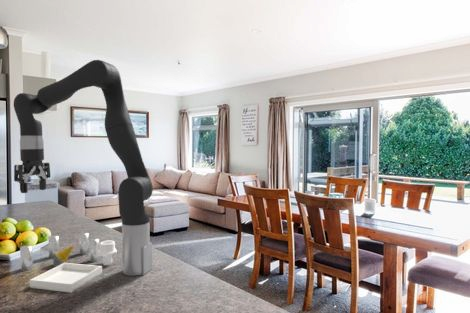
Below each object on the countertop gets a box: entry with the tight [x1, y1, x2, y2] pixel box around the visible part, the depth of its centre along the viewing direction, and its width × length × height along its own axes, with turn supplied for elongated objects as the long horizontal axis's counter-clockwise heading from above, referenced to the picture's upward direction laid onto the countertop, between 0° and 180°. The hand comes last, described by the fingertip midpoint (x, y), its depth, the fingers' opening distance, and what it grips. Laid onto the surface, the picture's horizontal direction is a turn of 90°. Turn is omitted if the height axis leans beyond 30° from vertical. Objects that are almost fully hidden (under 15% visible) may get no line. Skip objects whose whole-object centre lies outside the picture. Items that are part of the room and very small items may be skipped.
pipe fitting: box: [98, 239, 118, 266], centre depth 123 cm, size 6×7×8 cm
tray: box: [29, 262, 103, 294], centre depth 108 cm, size 15×15×2 cm
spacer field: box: [19, 232, 101, 272], centre depth 125 cm, size 22×23×8 cm
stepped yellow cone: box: [52, 244, 75, 267], centre depth 122 cm, size 5×5×10 cm
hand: (33, 191), depth 124 cm, fingers open, 8 cm apart
